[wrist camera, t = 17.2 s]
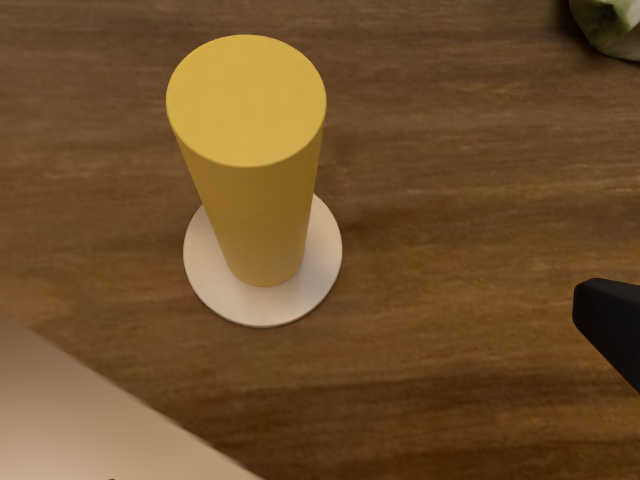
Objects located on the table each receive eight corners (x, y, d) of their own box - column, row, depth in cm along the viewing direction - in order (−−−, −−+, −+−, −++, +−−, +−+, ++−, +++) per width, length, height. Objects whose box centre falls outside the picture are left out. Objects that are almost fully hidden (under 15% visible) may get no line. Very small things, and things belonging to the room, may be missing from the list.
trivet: (300, 356, 21) (300, 355, 21) (154, 284, 22) (151, 282, 21) (364, 219, 24) (366, 214, 23) (233, 158, 25) (232, 153, 24)
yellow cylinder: (317, 267, 22) (353, 133, 11) (242, 300, 21) (199, 191, 10) (284, 201, 23) (287, 16, 12) (212, 229, 22) (142, 59, 11)
